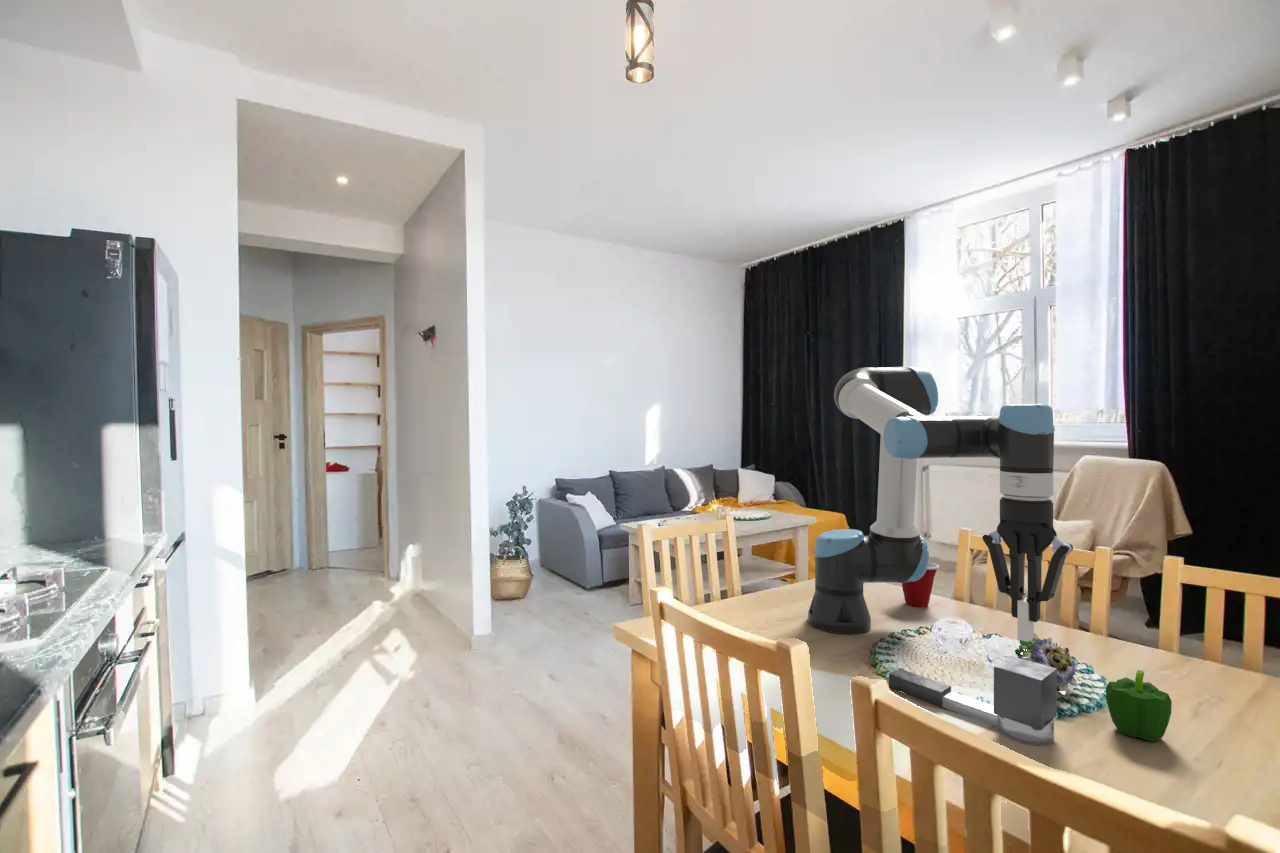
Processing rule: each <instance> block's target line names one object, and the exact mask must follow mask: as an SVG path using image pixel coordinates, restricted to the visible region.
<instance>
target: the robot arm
mask: <svg viewBox="0 0 1280 853" xmlns="http://www.w3.org/2000/svg"><path fill="white" fill-rule="evenodd" d="M833 399H834V403H835V406H837V409H838V410H839V411H840V412H841V413H843V414H844V415H845V416H846V417H849V418H851V419H854V420H855V419H856V420H858V419H859V420H860V421H861V422H863V423H864V424H865V425H868V427H870V428H871V429H873V430H874V431H876V432H877V433H878V434H880V441H879V442H880V443H879V460H878V461H879V465H878V467H879V468H878V469H879V470H878V486H877V506H876V507H877V508H876V520H875V521H874V523H872V524H871V525H870V527H869V535H864V533H863V531H862V530H859V529H855V528H849V529H846V528H841V529H832V530H827V531H825V532H822V533H820V534H819V535H817V537H816V538H815V545H814V554H813V555H814V594H813V598H812V600H811V603H810V606H809V609H808V611H807V620H808V621H807V622H808V624H809V625H810V626H812V627H814V628H816V629H818V630H820V631H821V630H822V631H824V632H830V633H836V634H844V635H845V634H847V635H852V634H861V633H864V632H866V631H869V630H870V629H871V627H872V618H871V614H870V612H869V608H868V606H867V602H866V599H865V596H864V584H867V583H870V584H871V583H874V584H875V583H898V584H899V583H900V584H902V583H905V582H913V581H917V580H919V579H920V578H921V577H922V576H923V575H924V574H925V572H926V570H927V566H928V561H929V558H930V555H929V554H930V552H929V550H928V547H929V546H928V543H927V541H926V539H925V538H924V537H923V536H921V531H920V530H919V529H918V528H917V527H916V526H915V522H914V521H915V502H916V488H917V470H918V469H917V468H918V459H941V458H942V459H945V458H949V459H950V458H951V459H953V458H956V459H957V458H993V459H999V493H1000V494H1001V495H1003V496H1002V497H1000V498H999V523H998V524H997V526H996V527H997V528H996V530H995V531H992V532H989V533H986V534H984V535H982V540H983V543H984V544H985V546H987V548H988V551H989V555H990V559H991V563H992V567H993V571H994V572H993V573H994V575H995V580H996V583H997V584H996V585H997V588H998V591H999V592H1000V593H1003V594H1006V595H1008V597H1010V599H1011V607H1010V608H1011V614H1010V615H1011V616H1012V618H1015V619H1017V638H1016V639H1017V641H1018V640H1019V641H1020V640H1022V641H1025V642H1028V641H1030V640H1032V639H1033V638H1034V633H1035V623H1037V622H1038V621H1040V619H1041V604H1042V602H1047V601H1050V600H1051V599H1054V598H1055V595H1056V591H1057V588H1058V584H1059V580H1060V578H1061V575H1062V571H1063V567H1064V564H1065V560H1066V557H1067V556H1069V554H1070V553H1071V552H1072V551H1073V550H1074V546H1073V544H1071V543H1066V542H1064V541H1063V540H1061V538H1059V537H1058V534H1057V530H1055V528H1054V501H1053V500H1052V499H1050V498H1052V497H1053V496H1054V452H1055V450H1054V447H1055V446H1054V445H1055V431H1056V428H1055V425H1054V415H1053V414H1054V411H1053V408H1052V406H1050V405H1049V404H1045V403H1029V404H1027V403H1025V404H1024V403H1023V404H1004V405H1002V406H1001V407H1000V408H999V409H1000V410H999V415H988V414H985V415H965V416H964V415H960V416H958V415H955V416H953V415H952V416H949V415H947V416H942V415H941V416H940V415H939V416H935V415H934V416H933V415H932V414H934V413H935V412H936V410H937V407H938V405H939V404H938V403H939V392H938V386H937V383H936V380H935V378H934V377H933V374H931V372H930V371H928V370H927V369H926V368H923V367H917V366H915V367H914V366H891V367H890V366H888V367H885V366H883V367H877V366H876V367H871V366H870V367H868V366H865V367H859V368H857V369H853V370H850V371H849V372H848V373H845V374H844V375H843V376H842V377H841V378H840V379H839V380H838V382H837V384H836V385H835V388H834V392H833ZM930 415H932V416H930ZM1002 541H1003V542H1004V543H1005V545H1006V546H1007V548H1008V550H1009V551H1008V556H1009V559H1010V562H1009V563H1010V570H1009V569H1008V565H1007V561H1006V557H1005V553H1004V549H1003V546H1002V544H1001V543H1002ZM1051 544H1052V547H1051V551H1052V553H1053V554H1052V556H1051V558H1050V561H1049V565H1048V569H1047V572H1046V575H1045V579H1044V582H1043V586H1042V560H1043V555H1044V554H1043V552H1045V551H1046V550H1047V548H1049V547H1050V546H1051ZM1025 557H1026V560H1027V597H1025V595H1026V592H1025ZM929 562H930V561H929ZM1009 571H1010V572H1009ZM1009 573H1010V574H1009Z"/></svg>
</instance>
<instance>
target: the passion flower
mask: <svg viewBox="0 0 1280 853" xmlns="http://www.w3.org/2000/svg"><path fill="white" fill-rule="evenodd" d="M1052 639H1053V638H1052V637H1048V638H1043V639H1042V638H1040V637H1038V634H1036V633H1035V632H1034V638H1033V639H1032V640H1033V645H1030V644H1027V645H1026V646H1028V647H1029V648H1030V650H1027V651H1026V646H1022V645H1020V644H1019V645H1018V647H1017V648H1016V649H1015V650H1014V652H1015V655H1016V656H1017V658H1021V659H1024V660H1028V661H1032V662H1035V663H1039V664H1043V665H1046V666H1050V667H1053V668H1057V691H1068V690H1067V687H1068V686H1067V685H1068V684H1070V685H1072V686H1075V687H1077V686H1078V682H1077V679H1076V678H1075V677H1074V675H1075V676H1077V677H1078V675H1077V674H1076V673H1079V671H1077V670H1076V668H1078V666H1079V664H1078V662H1077V661H1075V660H1073V657H1072V656H1070V655H1071V654H1070V649H1069V647H1064V648H1063V647H1062V645H1061V644H1060V645H1058V643H1055V642H1053V640H1052ZM1062 648H1063V649H1062ZM1023 649H1025V651H1024V650H1023ZM1021 652H1023V655H1021V654H1020V653H1021Z"/></svg>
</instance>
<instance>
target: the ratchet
mask: <svg viewBox="0 0 1280 853" xmlns="http://www.w3.org/2000/svg"><path fill="white" fill-rule="evenodd" d="M884 677H885V678H884V679H885V680H887V682H888V684H889V687H890V688H889V687H888V688H889V689H890V690H893V691H895V690H896V692H898V691H902V692H904V693H906V694H907V695H906V694H905V695H906V696H909V695H910V696H909V697H911V696H912V698H915V699H916V700H917V699H918V700H920V701H922V702H925V703H928V704H930V705H934V706H936V707H938V708H944V709H947V710H950V711H952V712H955V713H958V714H961V715H964V716H966V717H968V718H971V719H974V720H977V721H980V722H982V723H985V724H988V725H991V726H992V727H996V728H997V730H998V731H999V733H1000V734H1002V735H1003V736H1005V738H1008V739H1010V740H1012V741H1015V742H1017V743H1020V744H1023V745H1029V746H1037V747H1043V746H1049V745H1052V744H1053V743H1054V741H1055V719H1053V720H1052V721H1051V722H1050V723H1049V724H1048V725H1046V726H1045V727H1044V728H1043V729H1042V730H1039V729H1036V728H1033V727H1030V726H1028V725H1025V724H1022V723H1019V722H1016V721H1013V720H1011V719H1008V718H1005V717H1002V716H999V715H996V714H994V704H993V705H992V704H989V703H986V702H983V701H981V700H978V699H975V698H972V697H970V696H966V695H963V694H960V693H958V692H955V691H952V685H950V684H947V683H944V682H941V681H937V680H935V679H932V678H929V677H926V676H923V675H919V674H918V673H914V672H911V671H909V670H905V669H902V668H898V669H896V670H894V671H892V672H890V673H888V674H887V675H885V676H884ZM885 680H884V681H885Z"/></svg>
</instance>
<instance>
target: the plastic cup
mask: <svg viewBox="0 0 1280 853" xmlns="http://www.w3.org/2000/svg"><path fill="white" fill-rule="evenodd" d="M939 568H940V565H939V564H938V563H934V562H932V561H928V566H927V570H926V572H925V574H924V575H923V576H922V577H921V578H920V579H919V580H917V581H913V582H905V583H901V586H902V587H901V588H902V592H903V596H904V601H905V604H906V605H907V606H909V607H912V608H926V607H928V606H929V604H930V599H931V595H932V591H933V590H932V589H933V585H934V580H935V576H936V573H937V570H938V569H939Z"/></svg>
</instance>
